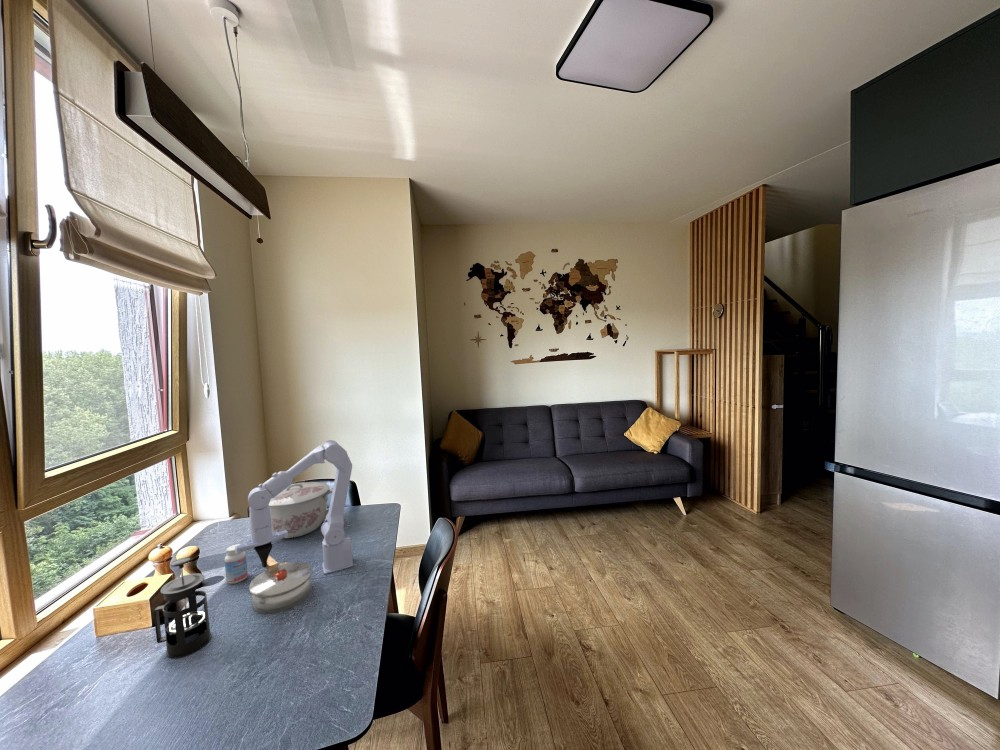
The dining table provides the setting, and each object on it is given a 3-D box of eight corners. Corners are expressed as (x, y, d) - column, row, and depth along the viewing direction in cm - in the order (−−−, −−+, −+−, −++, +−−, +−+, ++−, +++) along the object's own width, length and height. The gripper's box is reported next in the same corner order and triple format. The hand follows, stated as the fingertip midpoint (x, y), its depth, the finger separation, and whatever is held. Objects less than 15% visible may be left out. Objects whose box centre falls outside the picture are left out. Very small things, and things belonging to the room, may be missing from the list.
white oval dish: (309, 567, 138) (308, 553, 138) (312, 601, 119) (311, 585, 118) (256, 581, 131) (255, 567, 131) (250, 621, 111) (249, 604, 111)
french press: (219, 627, 109) (211, 547, 108) (207, 650, 100) (198, 564, 99) (167, 639, 105) (158, 557, 104) (150, 665, 96) (140, 575, 95)
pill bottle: (237, 585, 129) (234, 552, 129) (222, 583, 131) (218, 551, 130) (252, 574, 135) (249, 543, 135) (237, 573, 137) (234, 542, 136)
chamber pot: (245, 541, 161) (240, 492, 160) (302, 514, 186) (298, 471, 185) (294, 551, 150) (289, 499, 149) (347, 521, 176) (343, 476, 174)
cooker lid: (321, 576, 122) (320, 567, 122) (260, 605, 110) (259, 594, 109) (292, 554, 137) (292, 546, 137) (236, 577, 125) (235, 568, 124)
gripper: (281, 514, 133) (284, 553, 134) (231, 529, 123) (234, 571, 124) (288, 520, 129) (291, 560, 129) (236, 536, 118) (240, 580, 119)
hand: (264, 566), depth 126 cm, fingers closed
